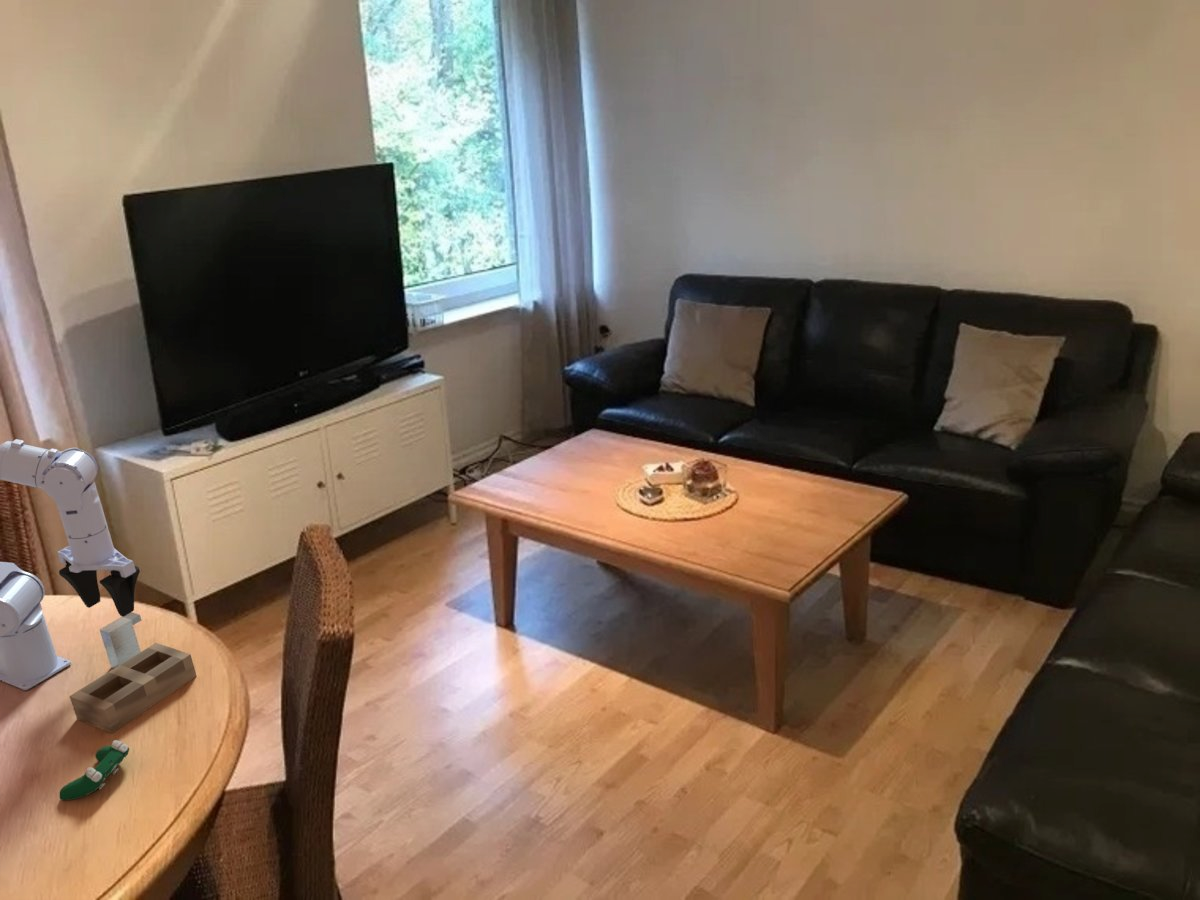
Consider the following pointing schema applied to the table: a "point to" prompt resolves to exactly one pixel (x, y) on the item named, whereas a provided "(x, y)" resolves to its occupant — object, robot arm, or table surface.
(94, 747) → the table surface
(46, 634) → the robot arm
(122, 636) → the white rectangular pillar
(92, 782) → the green elongated piece
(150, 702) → the tan divided tray
